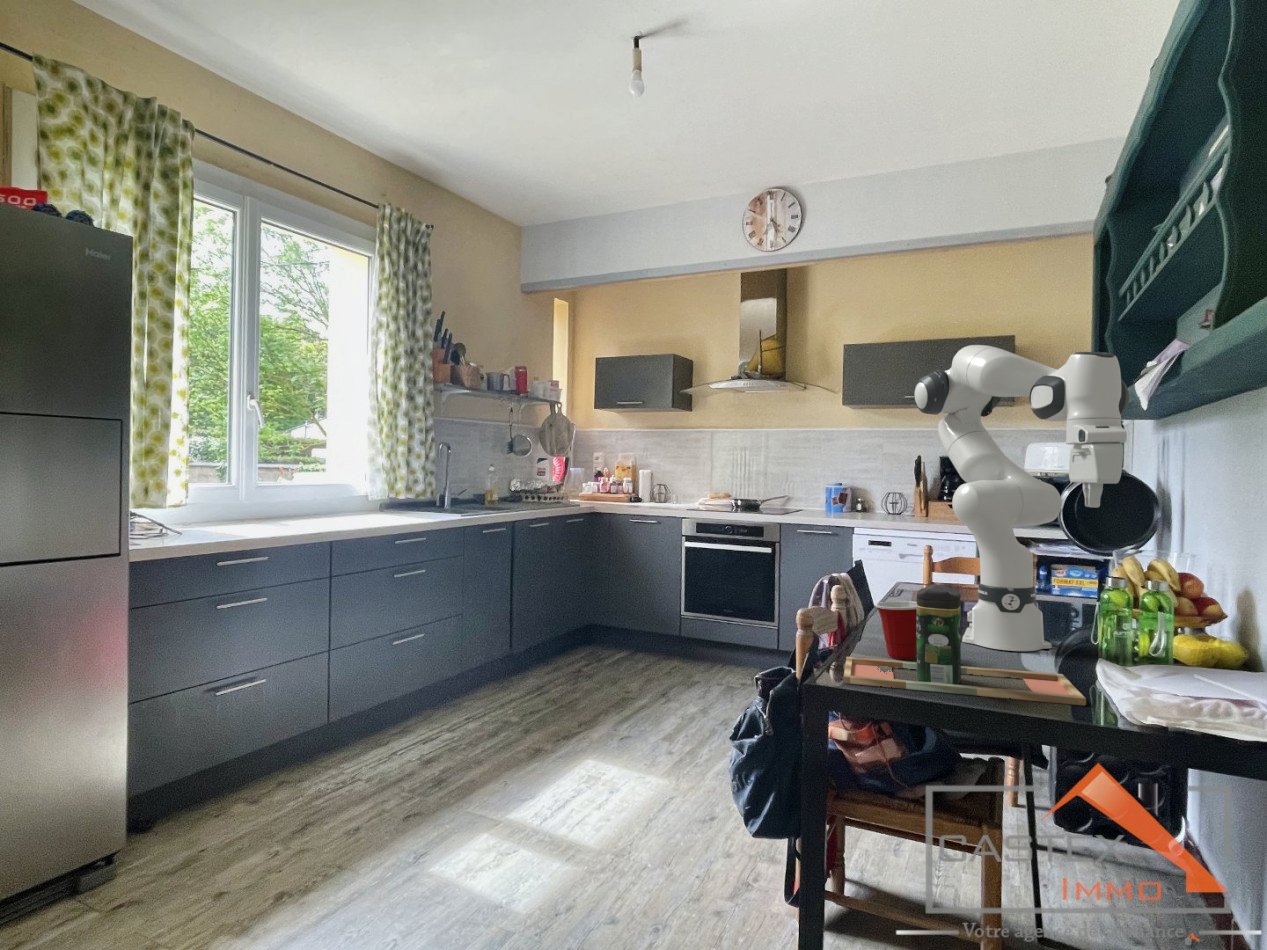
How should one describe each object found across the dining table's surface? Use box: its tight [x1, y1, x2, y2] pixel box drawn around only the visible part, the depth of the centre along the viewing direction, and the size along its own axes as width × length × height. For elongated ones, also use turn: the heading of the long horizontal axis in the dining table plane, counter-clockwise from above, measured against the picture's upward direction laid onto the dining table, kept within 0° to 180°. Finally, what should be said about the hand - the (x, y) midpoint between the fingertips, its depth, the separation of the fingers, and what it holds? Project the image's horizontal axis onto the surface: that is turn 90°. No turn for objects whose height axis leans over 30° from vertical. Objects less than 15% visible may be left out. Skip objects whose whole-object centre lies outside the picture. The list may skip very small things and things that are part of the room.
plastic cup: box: [874, 600, 917, 661], centre depth 156 cm, size 11×11×12 cm
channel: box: [843, 656, 1087, 706], centre depth 137 cm, size 16×40×1 cm, turn 71°
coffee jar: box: [916, 584, 962, 685], centre depth 137 cm, size 10×8×19 cm
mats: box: [851, 664, 1070, 695], centre depth 137 cm, size 12×38×1 cm, turn 71°
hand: (1092, 507), depth 136 cm, fingers closed
